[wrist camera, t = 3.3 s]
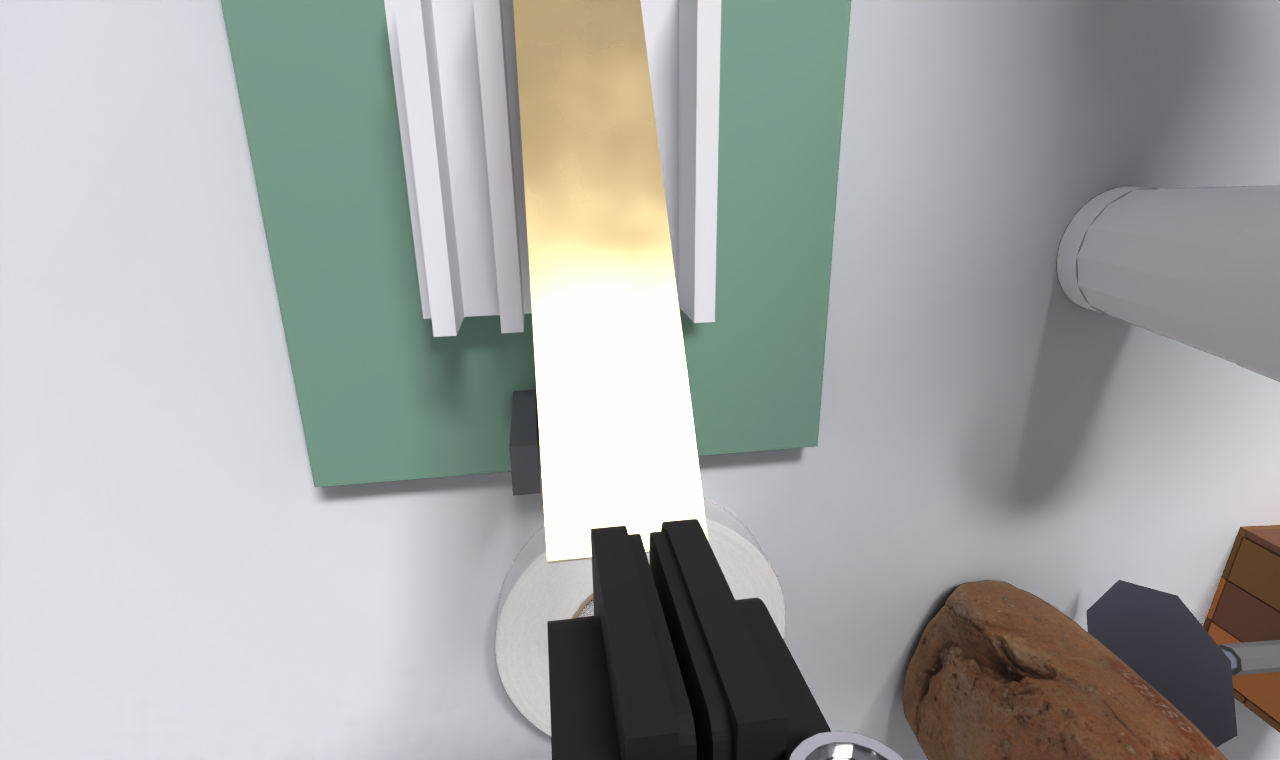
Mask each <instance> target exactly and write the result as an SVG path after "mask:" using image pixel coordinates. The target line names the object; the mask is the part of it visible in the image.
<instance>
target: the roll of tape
mask: <svg viewBox="0 0 1280 760" xmlns="http://www.w3.org/2000/svg"><path fill="white" fill-rule="evenodd" d="M703 503H704V511H705V519H706V527H707V535H708V542H709V544H710V546H711V548H712V550H713V552H714V555H715V557H716V559H717V561H718V563H719V566H720V568H721V570H722V572H723V574H724V576H725V579H726V581H727V583H728V585H729V587H730V590H731V592H732V594H733V596H734V598H735V600H740V599H748V598H757V597H758V598H759V599H761V600H762V601H763V603H764V604H765V606H766V607H767V609H768V611H769V613H770V615H771V617H772V619H773V621H774V623H775V624H776V626H777V628H778V630H779V632H780V634H781V636H782V638H783V640H784V635H785V605H784V599H783V594H782V590H781V587H780V584H779V582H778V579H777V577H776V575H775V573H774V571H773V569H772V567H771V566H770V564H769V562H768V560H767V558H766V557H765V555H764V553H763V551H762V550H761V548H760V546H759V544H758V542H757V541H756V539H755V538H754V536H753V535H752V534H751V532H750V531H749V530H748V529H747V528H746V527H745V526H744V525H743V523H742V522H740V521H739V520H738V519H737V518H736V517H735V516H733V515H732V514H731V513H730V512H729V511H727V510H726V509H724V508H723V507H721V506H719V505H717V504H716V503H714V502H712V501H710V500H707V499H705V498H703ZM646 554H647V558H648V561H649V565H650V559H649V553H646ZM592 599H593V576H592V559H587V560H577V561H567V562H557V563H548V562H547V552H546V536H545V526H544V527H542V528H541V529H540V530H539V531H538V532H537V533H536V534H535V535H534V536H533V537H532V538H531V539H530V540H529V541H528V542H527V544H526V545H525V546H524V547H523V548H522V550H521V551H520V553H519V554H518V556H517V557H516V558H515V560H514V562H513V564H512V565H511V567H510V569H509V571H508V573H507V575H506V578H505V580H504V583H503V586H502V590H501V593H500V598H499V604H498V614H497V627H496V638H495V655H496V662H497V668H498V672H499V675H500V678H501V681H502V684H503V686H504V688H505V690H506V692H507V694H508V696H509V698H510V699H511V701H512V702H513V704H514V705H515V706H516V708H517V709H518V710H519V711H520V712H521V714H522V715H523V716H524V717H525V718H526V719H527V720H528V721H530V722H531V723H532V724H533V725H534V726H536V727H537V728H538V729H539V730H541V731H542V732H544V733H545V734H547V735H549V736H551V713H550V685H549V657H548V627H547V622H548V621H555V620H564V619H573V618H578V616H579V614H580V613H581V611H582V610H583V609H584V607H585V606H586V605H587V604H588V603H589V602H590V601H591V600H592Z"/></svg>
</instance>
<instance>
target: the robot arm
mask: <svg viewBox="0 0 1280 760" xmlns="http://www.w3.org/2000/svg"><path fill="white" fill-rule="evenodd" d="M591 554H592V576H593V598H594V616H590V617H581V618H573V619H564V620H555V621H548V622H547V627H548V657H549V685H550V713H551V741H552V760H904V759H903V758H902V757H901V756H899V755H898V754H897V753H896V752H895V751H893V750H892V749H890V748H889V747H887V746H885V745H884V744H882V743H881V742H879V741H877V740H874V739H872V738H869V737H866V736H863V735H861V734H858V733H851V732H843V731H832V732H831V730H830V728H829V726H828V724H827V722H826V720H825V719H824V717H823V715H822V713H821V711H820V709H819V707H818V705H817V703H816V701H815V699H814V697H813V695H812V694H811V692H810V690H809V688H808V686H807V684H806V682H805V680H804V678H803V676H802V674H801V672H800V671H799V669H798V667H797V665H796V663H795V661H794V659H793V657H792V655H791V653H790V651H789V649H788V647H787V646H786V644H785V642H784V640H783V638H782V636H781V634H780V632H779V630H778V628H777V626H776V624H775V623H774V621H773V619H772V617H771V615H770V613H769V611H768V609H767V607H766V606H765V604H764V603H763V601H762V600H761V599H759V598H758V597H757V598H748V599H740V600H735V598H734V596H733V594H732V592H731V590H730V587H729V585H728V583H727V581H726V579H725V576H724V574H723V572H722V570H721V568H720V566H719V563H718V561H717V559H716V557H715V555H714V552H713V550H712V548H711V546H710V544H709V542H708V539H707V537H706V535H705V533H704V531H703V529H702V526H701V524H700V522H699V520H698V519H686V520H675V521H665V522H662V525H661V531H658V532H650V536H649V559H650V565H649V561H648V558H647V554H646V551H645V548H644V544H643V541H642V537H641V534H640V533H637V534H628V531H627V528H626V526H625V525H623V526H612V527H602V528H591Z"/></svg>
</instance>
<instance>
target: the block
mask: <svg viewBox="0 0 1280 760" xmlns="http://www.w3.org/2000/svg"><path fill="white" fill-rule="evenodd" d="M902 699H903V707H904V713H905V717H906V719H907V721H908V722H909V724H910V726H911V728H912V730H913V732H914V733H915V735H916V738H917V740H918V742H919V743H920V745H921V747H922V749H923V751H924V752H925V754H926V756H927V758H928V760H1227V759H1226V758H1225V756H1224V755H1223V754H1222V753H1221V752H1220V751H1219V750H1218V749H1217V748H1216V747H1215V746H1214V745H1213V744H1212V743H1211V742H1210V741H1209V740H1208V739H1207V738H1206V737H1205V736H1204V735H1203V734H1202V732H1201V731H1200V730H1199V729H1198V728H1197V727H1196V726H1195V725H1194V724H1193V723H1192V722H1190V721H1189V720H1188V719H1187V718H1186V717H1185V716H1184V715H1183V714H1182V713H1181V712H1180V711H1179V710H1178V709H1176V708H1175V707H1174V706H1173V705H1172V704H1171V703H1170V702H1169V701H1168V700H1167V699H1166V698H1164V697H1163V696H1162V695H1161V694H1160V693H1159V692H1158V691H1156V690H1155V689H1154V688H1153V687H1152V686H1151V685H1149V684H1148V683H1147V682H1146V681H1144V680H1143V679H1142V678H1141V677H1140V676H1139V675H1138V674H1136V673H1135V672H1134V671H1133V670H1132V669H1131V668H1130V667H1129V666H1128V665H1127V664H1125V663H1124V662H1123V661H1122V660H1121V659H1119V658H1118V657H1117V656H1116V655H1115V654H1114V653H1112V652H1111V651H1110V650H1109V649H1108V648H1107V647H1105V646H1104V645H1103V644H1102V643H1100V642H1099V641H1098V640H1097V639H1095V638H1094V637H1093V636H1091V635H1090V634H1089V633H1088V632H1086V631H1085V630H1084V629H1083V628H1081V627H1080V626H1079V625H1078V624H1077V623H1076V622H1074V621H1073V620H1072V619H1070V618H1069V617H1067V616H1066V615H1065V614H1063V613H1062V612H1060V611H1059V610H1058V609H1056V608H1055V607H1053V606H1052V605H1050V604H1049V603H1047V602H1045V601H1044V600H1042V599H1040V598H1039V597H1037V596H1035V595H1033V594H1031V593H1029V592H1026V591H1023V590H1021V589H1018V588H1016V587H1014V586H1012V585H1011V584H1008V583H1006V582H1001V581H991V580H985V581H978V582H968V583H965V584H962V585H960V586H959V587H957V588H956V589H955V590H954V591H953V593H952V594H951V595H950V596H949V597H948V599H947V600H946V602H945V605H944V606H943V607H942V608H941V609H940V611H939V612H938V613H937V614H936V616H935V617H934V618H933V619H932V620H931V621H930V622H929V623H928V625H927V626H926V628H925V630H924V632H923V634H922V636H921V639H920V641H919V643H918V646H917V648H916V650H915V653H914V655H913V656H912V658H911V660H910V663H909V666H908V669H907V672H906V676H905V685H904V692H903V698H902Z"/></svg>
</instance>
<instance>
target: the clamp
mask: <svg viewBox="0 0 1280 760" xmlns="http://www.w3.org/2000/svg"><path fill="white" fill-rule="evenodd" d="M1222 576H1223V577H1222V578H1221V580H1220V583H1219V586H1218V588H1217V591H1216V594H1215V596H1214V599H1213V602H1212V604H1211V607H1210V610H1209V612H1208V615H1207V617H1208V618H1206V620H1205V623H1204V626H1202V625H1201V624H1200V623H1199V622H1198V620H1197V619H1196V618H1195V617H1194V615H1193V614H1192V613H1191V612H1190V611H1189V609H1188V608H1187V607H1186V606H1185V604H1184V603H1183V602H1182V601H1181V600H1180V598H1179V597H1178V596H1176V595H1172V594H1169V593H1165V592H1161V591H1158V590H1154V589H1150V588H1147V587H1143V586H1139V585H1136V584H1132V583H1128V582H1125V581H1121V580H1119V581H1118V582H1116V583H1115V584H1114V585H1113V586H1112V587H1111V588H1110V589H1109V590H1108V591H1107V592H1106V593H1105V594H1104V595H1103V596H1102V597H1101V598H1100V599H1099V600H1098V601H1097V602H1096V603H1095V604H1094V605H1093V606H1092V607H1090V608H1089V609H1088V610H1087V625H1088V633H1089V634H1090V635H1091V636H1093V637H1094V638H1095V639H1097V640H1098V641H1099V642H1100V643H1102V644H1103V645H1104V646H1105V647H1107V648H1108V649H1109V650H1110V651H1111V652H1112V653H1114V654H1115V655H1116V656H1117V657H1118V658H1119V659H1121V660H1122V661H1123V662H1124V663H1125V664H1127V665H1128V666H1129V667H1130V668H1131V669H1132V670H1133V671H1134V672H1135V673H1136V674H1138V675H1139V676H1140V677H1141V678H1142V679H1143V680H1144V681H1146V682H1147V683H1148V684H1149V685H1151V686H1152V687H1153V688H1154V689H1155V690H1156V691H1158V692H1159V693H1160V694H1161V695H1162V696H1163V697H1164V698H1166V699H1167V700H1168V701H1169V702H1170V703H1171V704H1172V705H1173V706H1174V707H1175V708H1176V709H1178V710H1179V711H1180V712H1181V713H1182V714H1183V715H1184V716H1185V717H1186V718H1187V719H1188V720H1189V721H1190V722H1192V723H1193V724H1194V725H1195V726H1196V727H1197V728H1198V729H1199V730H1200V731H1201V732H1202V734H1203V735H1204V736H1205V737H1206V738H1207V739H1208V740H1209V741H1210V742H1211V743H1212V744H1213V745H1214V746H1215V747H1218V746H1220V745H1221V744H1223V743H1225V742H1227V741H1228V740H1230V739H1232V738H1233V737H1235V736H1237V727H1236V716H1235V704H1234V698H1236V699H1237V700H1238V701H1240V702H1241V703H1242V704H1244V705H1245V706H1246V707H1247V708H1249V709H1250V710H1251V711H1253V712H1254V713H1255V714H1256V715H1258V716H1259V717H1260V718H1262V719H1263V720H1264V721H1265V722H1267V723H1268V724H1269V725H1271V726H1272V727H1273V728H1274V729H1276V730H1277V731H1278V732H1280V525H1271V526H1248V527H1240V530H1239V532H1238V535H1237V537H1236V540H1235V543H1234V545H1233V548H1232V551H1231V553H1230V556H1229V559H1228V561H1227V564H1226V567H1225V570H1224V572H1223V575H1222Z"/></svg>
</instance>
